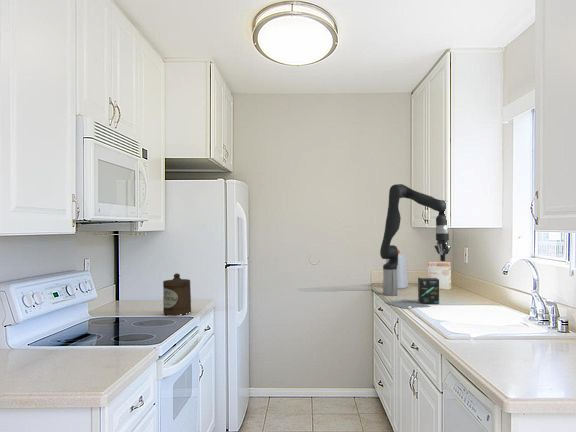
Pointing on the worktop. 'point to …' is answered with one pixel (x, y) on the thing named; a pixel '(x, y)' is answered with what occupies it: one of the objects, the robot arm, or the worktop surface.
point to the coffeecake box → (440, 273)
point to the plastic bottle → (401, 271)
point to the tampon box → (428, 290)
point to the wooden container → (176, 296)
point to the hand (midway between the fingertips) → (442, 261)
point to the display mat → (406, 304)
